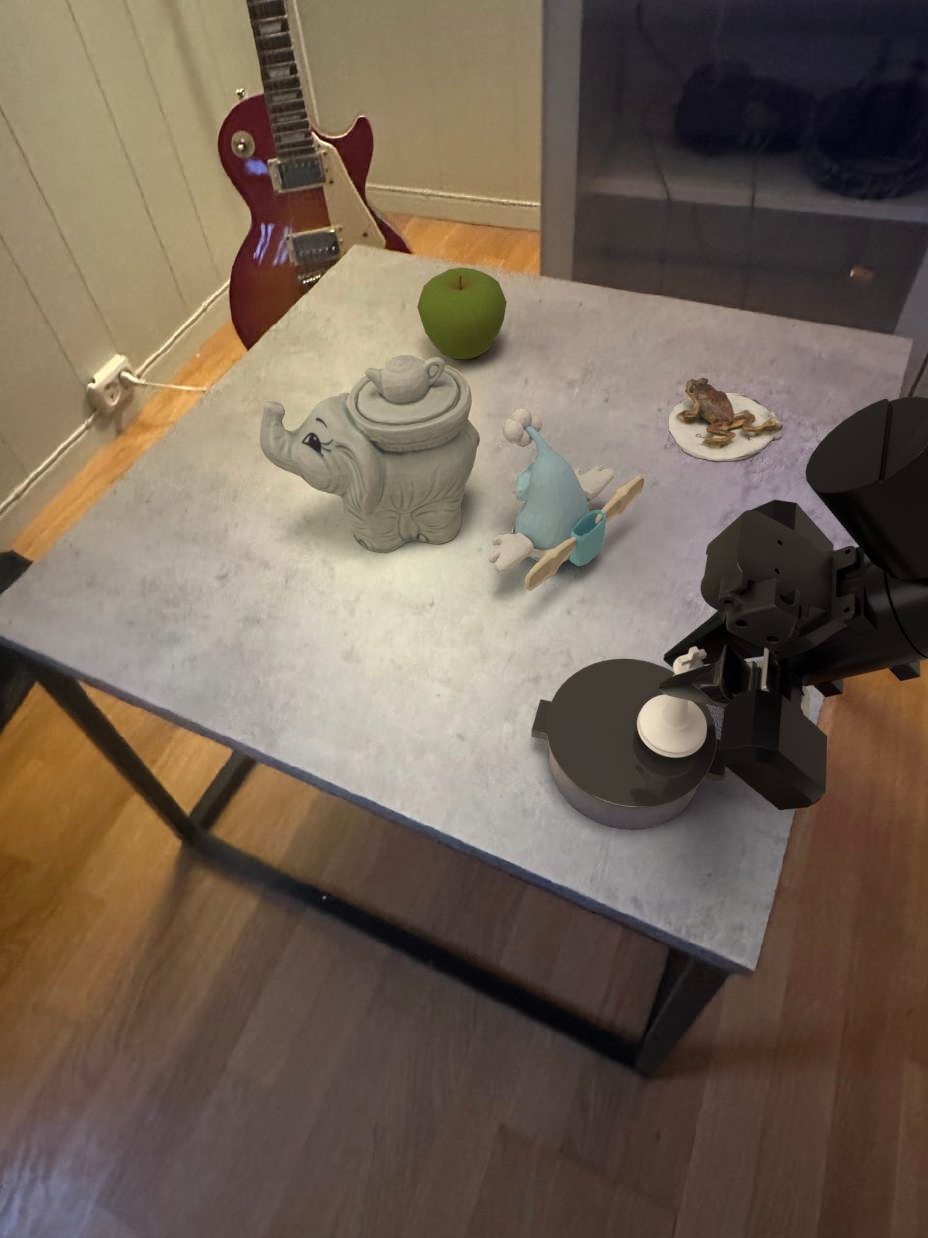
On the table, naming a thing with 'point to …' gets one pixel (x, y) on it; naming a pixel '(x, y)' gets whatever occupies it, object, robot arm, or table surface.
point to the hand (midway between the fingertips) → (664, 675)
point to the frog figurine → (721, 424)
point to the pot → (619, 747)
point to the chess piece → (674, 717)
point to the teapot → (386, 451)
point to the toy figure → (555, 507)
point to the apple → (462, 312)
